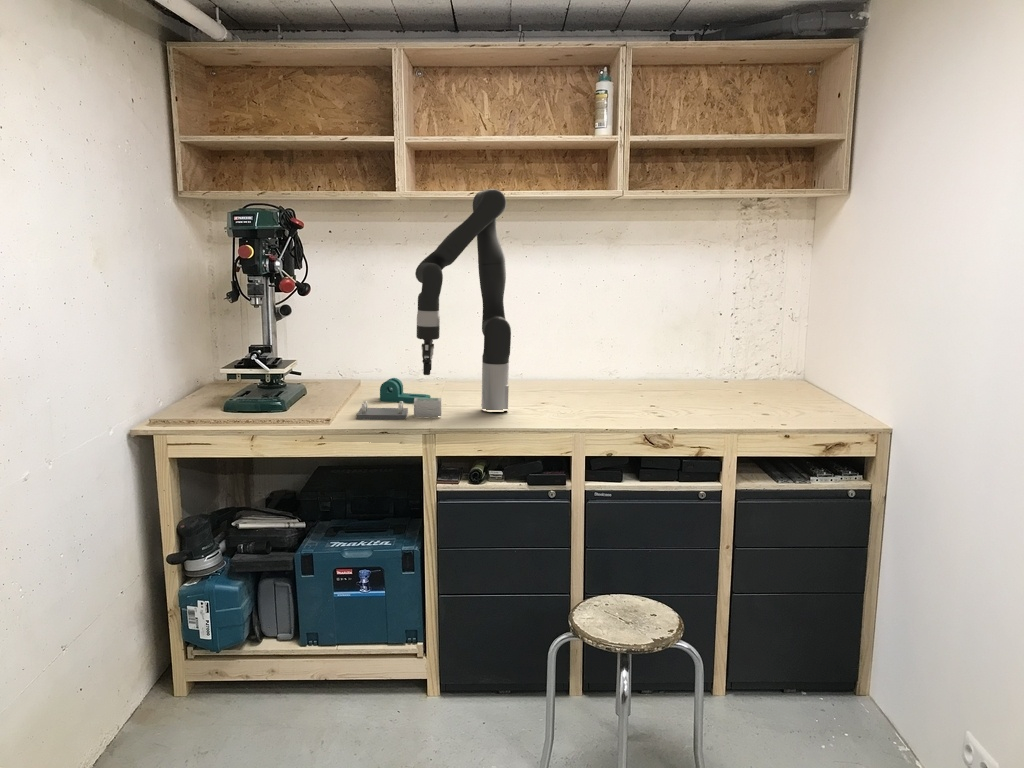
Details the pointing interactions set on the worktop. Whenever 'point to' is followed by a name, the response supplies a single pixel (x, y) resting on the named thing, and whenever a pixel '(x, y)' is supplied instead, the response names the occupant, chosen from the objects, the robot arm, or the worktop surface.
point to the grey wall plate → (382, 412)
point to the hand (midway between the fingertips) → (427, 372)
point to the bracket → (397, 392)
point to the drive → (427, 407)
